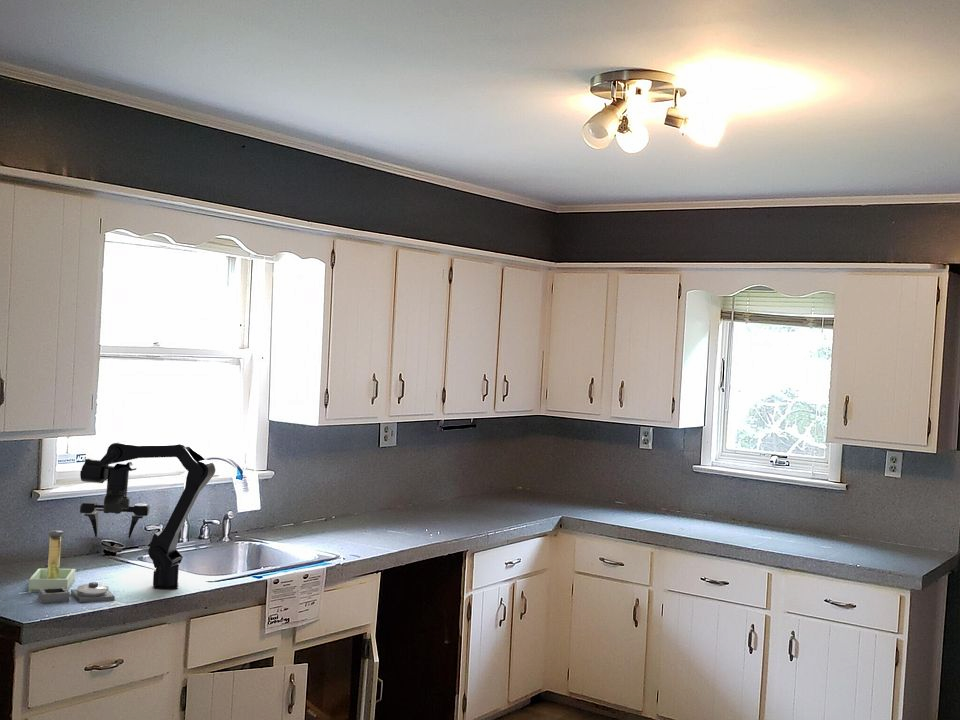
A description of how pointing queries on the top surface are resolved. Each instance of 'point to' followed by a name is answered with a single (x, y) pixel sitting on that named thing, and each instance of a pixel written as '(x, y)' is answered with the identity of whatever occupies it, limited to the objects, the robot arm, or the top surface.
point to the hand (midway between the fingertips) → (112, 537)
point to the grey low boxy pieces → (77, 594)
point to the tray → (51, 580)
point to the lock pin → (54, 553)
